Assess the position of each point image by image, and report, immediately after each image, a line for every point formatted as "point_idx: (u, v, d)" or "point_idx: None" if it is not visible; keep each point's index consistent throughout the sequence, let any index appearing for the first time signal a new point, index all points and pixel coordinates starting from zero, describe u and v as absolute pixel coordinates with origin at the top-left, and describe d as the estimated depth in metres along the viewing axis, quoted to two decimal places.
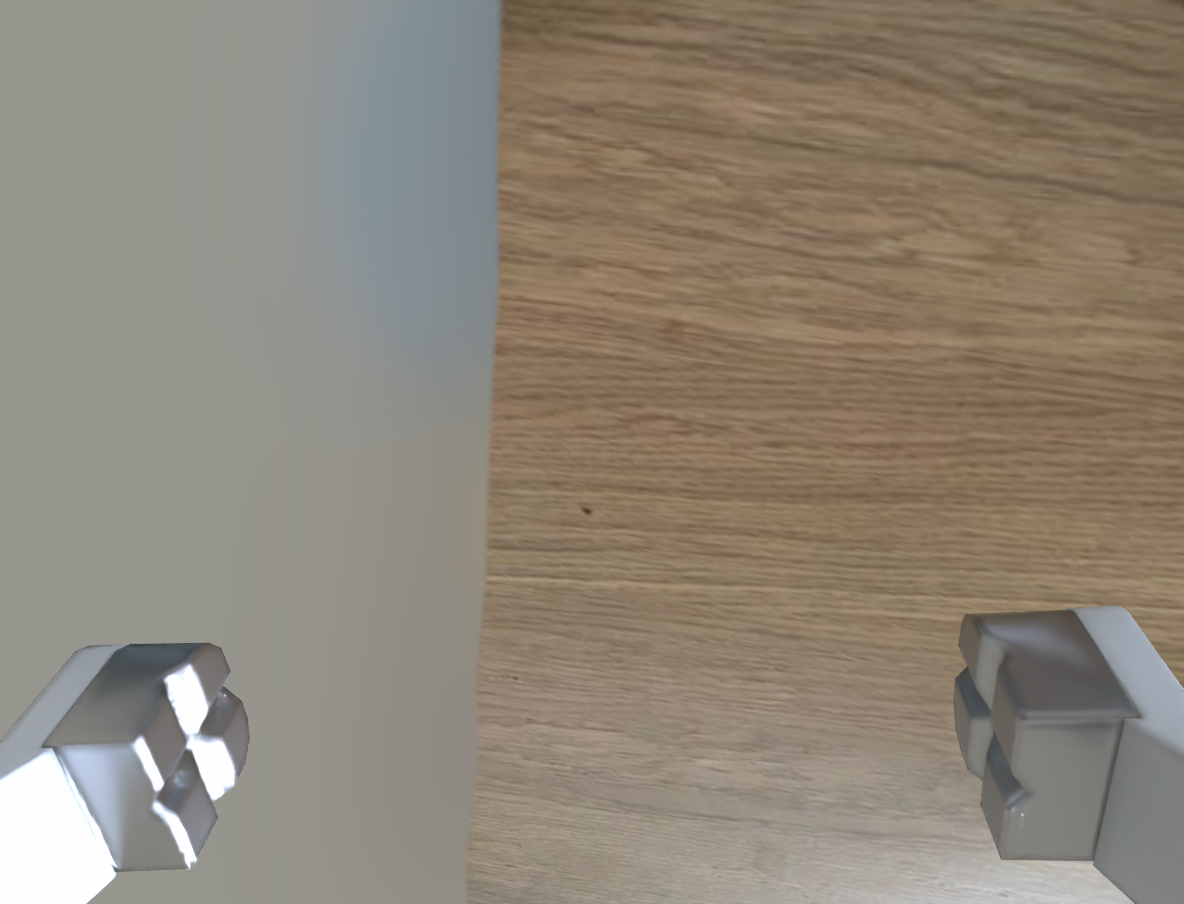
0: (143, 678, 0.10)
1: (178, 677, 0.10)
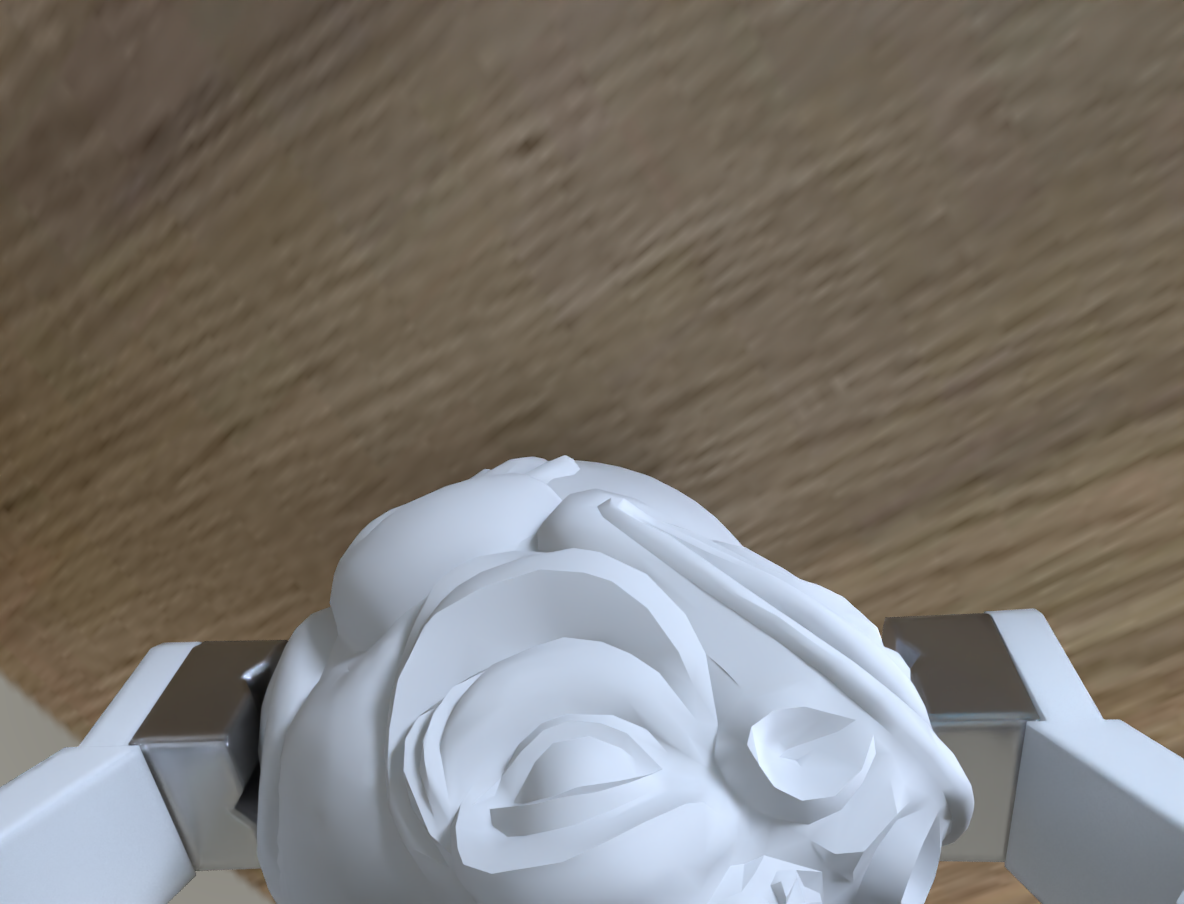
0: (224, 675, 0.10)
1: (258, 673, 0.10)
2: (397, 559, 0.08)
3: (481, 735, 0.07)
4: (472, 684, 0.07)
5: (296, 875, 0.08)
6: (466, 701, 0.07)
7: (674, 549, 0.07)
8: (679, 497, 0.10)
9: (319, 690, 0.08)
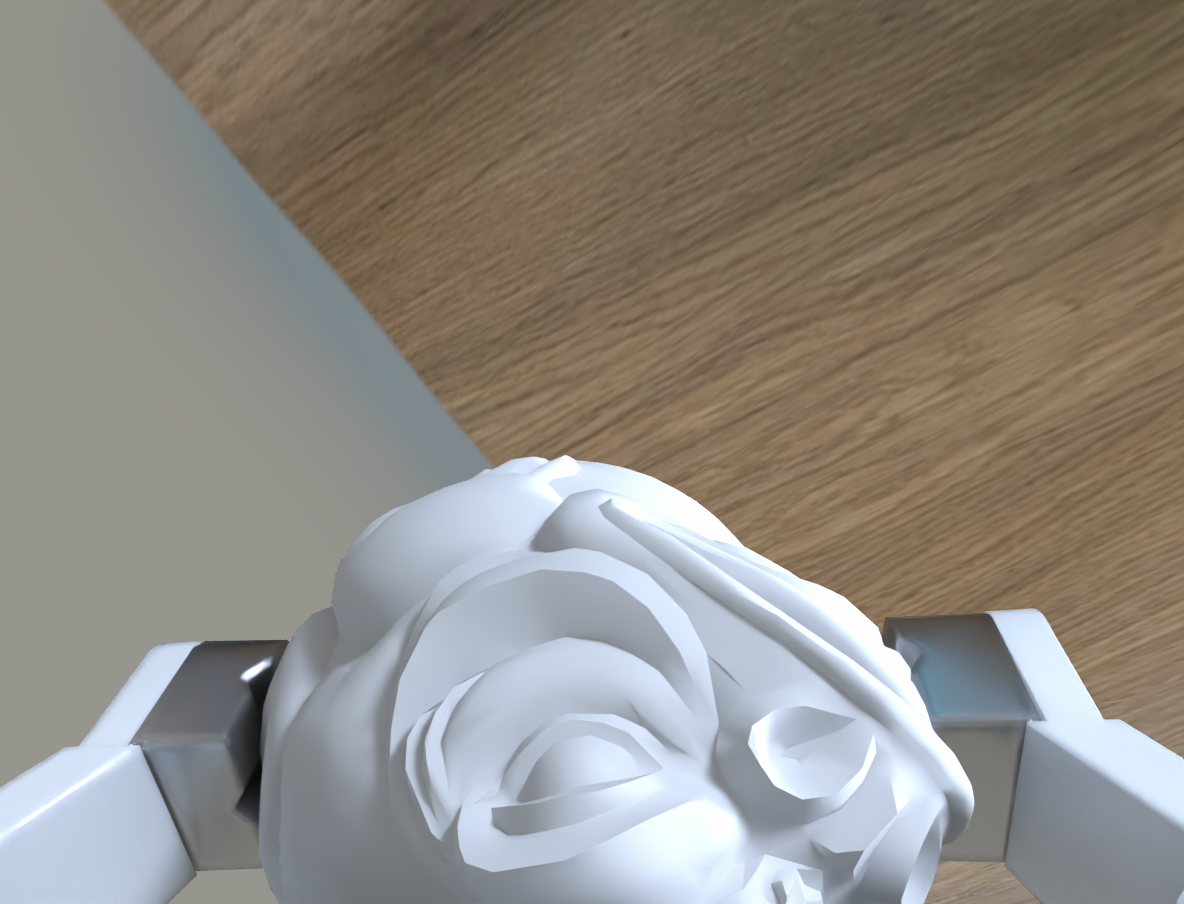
0: (224, 675, 0.10)
1: (258, 673, 0.10)
2: (399, 559, 0.08)
3: (482, 733, 0.07)
4: (473, 682, 0.07)
5: (298, 874, 0.08)
6: (466, 699, 0.07)
7: (673, 550, 0.07)
8: (680, 497, 0.10)
9: (321, 689, 0.08)
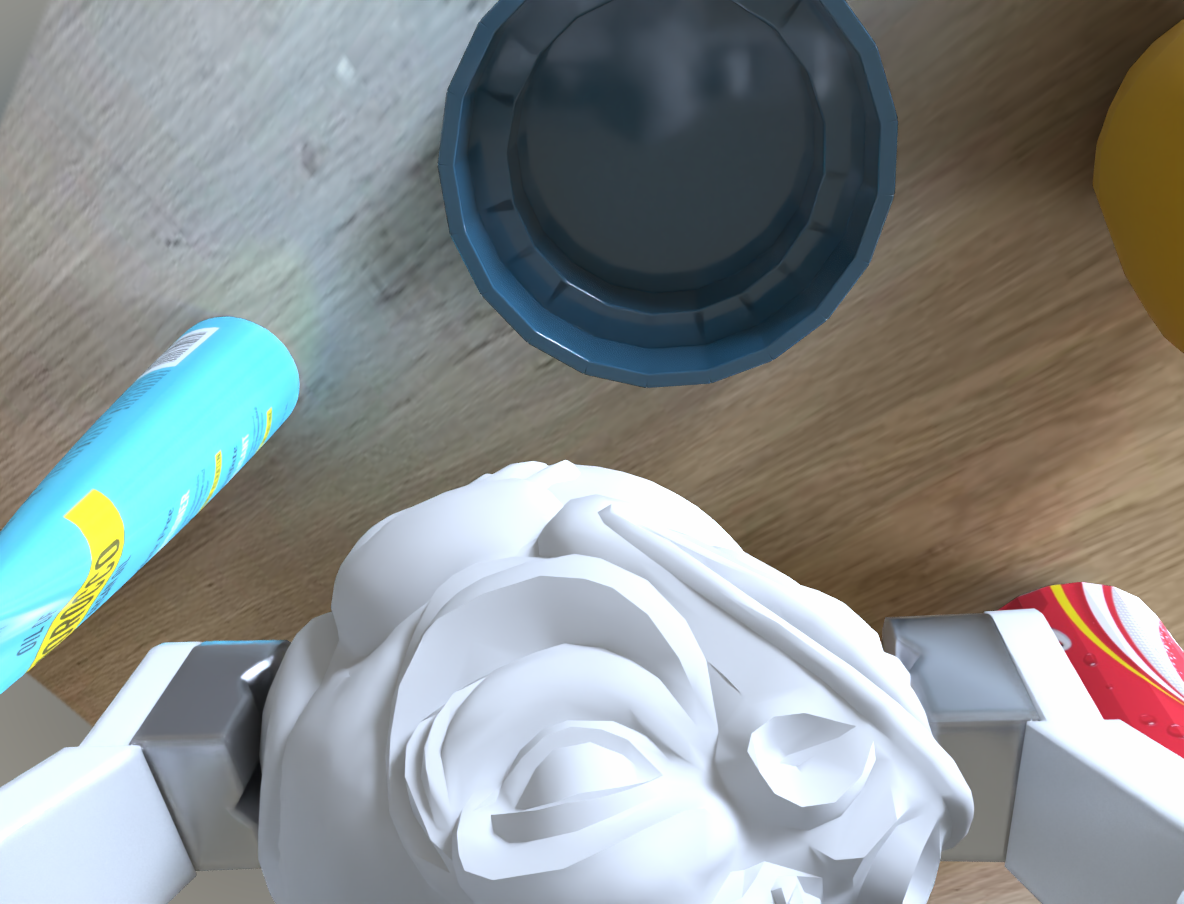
0: (224, 675, 0.10)
1: (258, 673, 0.10)
2: (399, 565, 0.08)
3: (482, 740, 0.07)
4: (473, 689, 0.07)
5: (298, 880, 0.08)
6: (466, 707, 0.07)
7: (673, 555, 0.07)
8: (679, 501, 0.10)
9: (320, 695, 0.08)
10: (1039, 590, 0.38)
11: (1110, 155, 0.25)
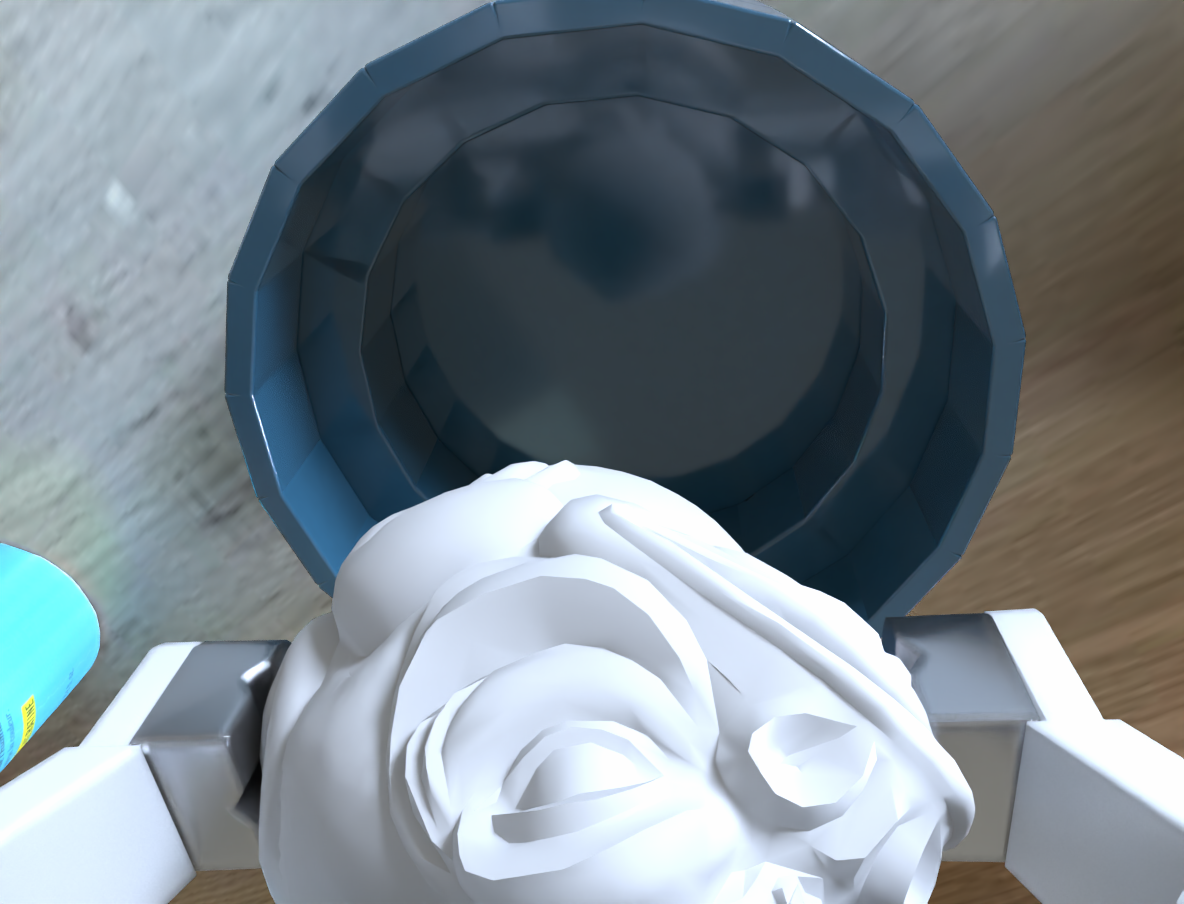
0: (224, 675, 0.10)
1: (258, 674, 0.10)
2: (399, 565, 0.08)
3: (484, 740, 0.07)
4: (473, 689, 0.07)
5: (298, 880, 0.08)
6: (467, 707, 0.07)
7: (673, 555, 0.07)
8: (680, 501, 0.10)
9: (321, 695, 0.08)
10: None
11: None
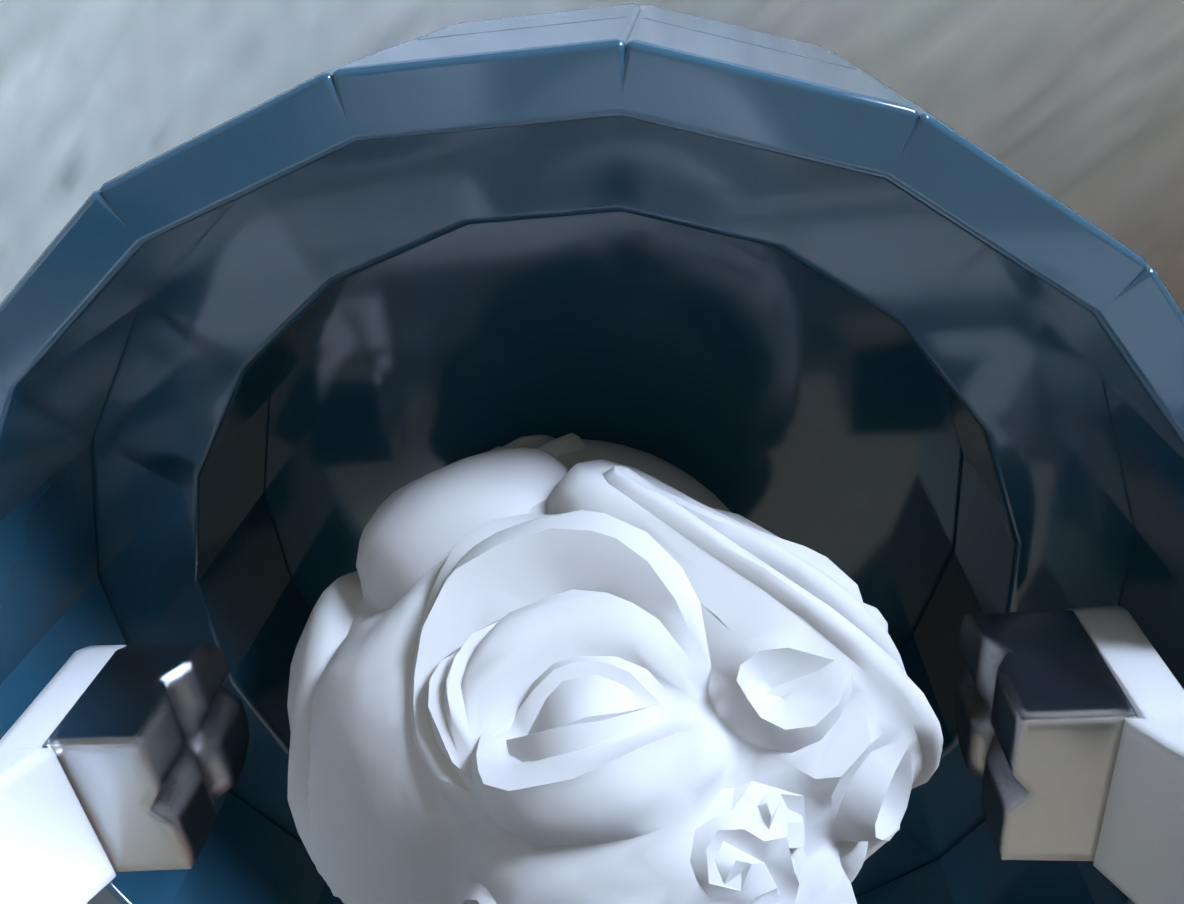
0: (143, 677, 0.10)
1: (178, 676, 0.10)
2: (419, 523, 0.09)
3: (498, 674, 0.07)
4: (488, 631, 0.08)
5: (327, 811, 0.09)
6: (484, 643, 0.07)
7: (672, 510, 0.08)
8: (678, 472, 0.11)
9: (348, 643, 0.09)
10: None
11: None
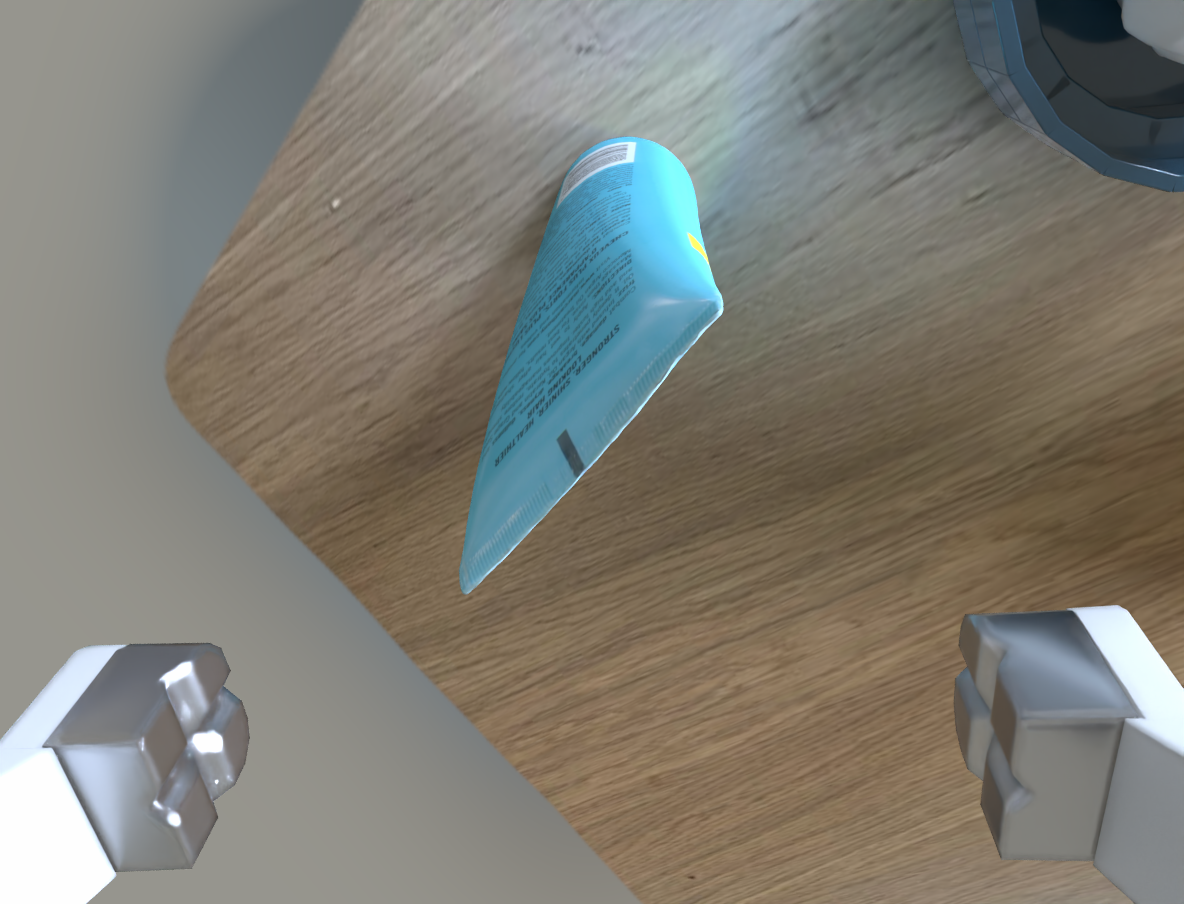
0: (143, 678, 0.10)
1: (179, 676, 0.10)
2: None
3: None
4: None
5: None
6: None
7: None
8: None
9: None
10: None
11: None
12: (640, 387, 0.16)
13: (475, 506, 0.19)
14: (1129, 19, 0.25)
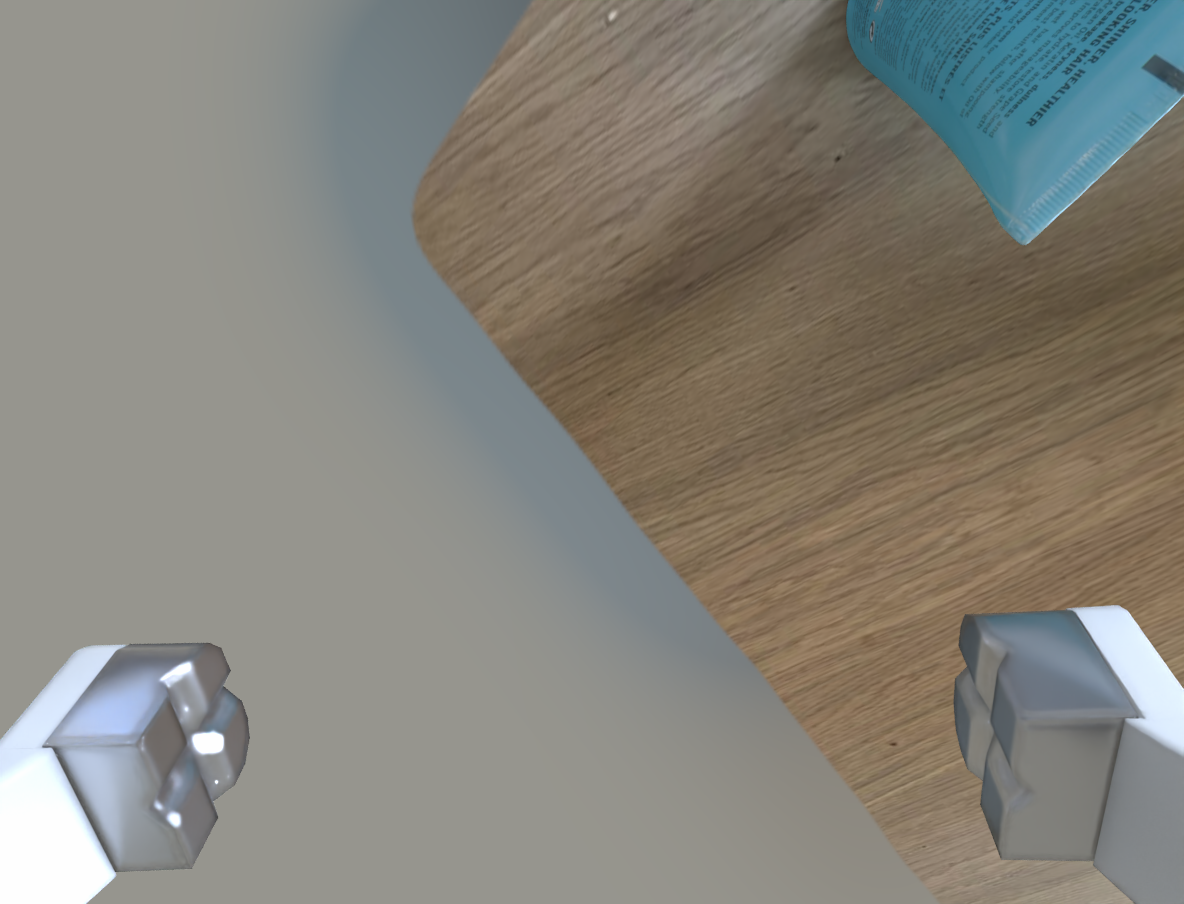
0: (143, 678, 0.10)
1: (179, 677, 0.10)
2: None
3: None
4: None
5: None
6: None
7: None
8: None
9: None
10: None
11: None
12: None
13: (1011, 167, 0.18)
14: None
